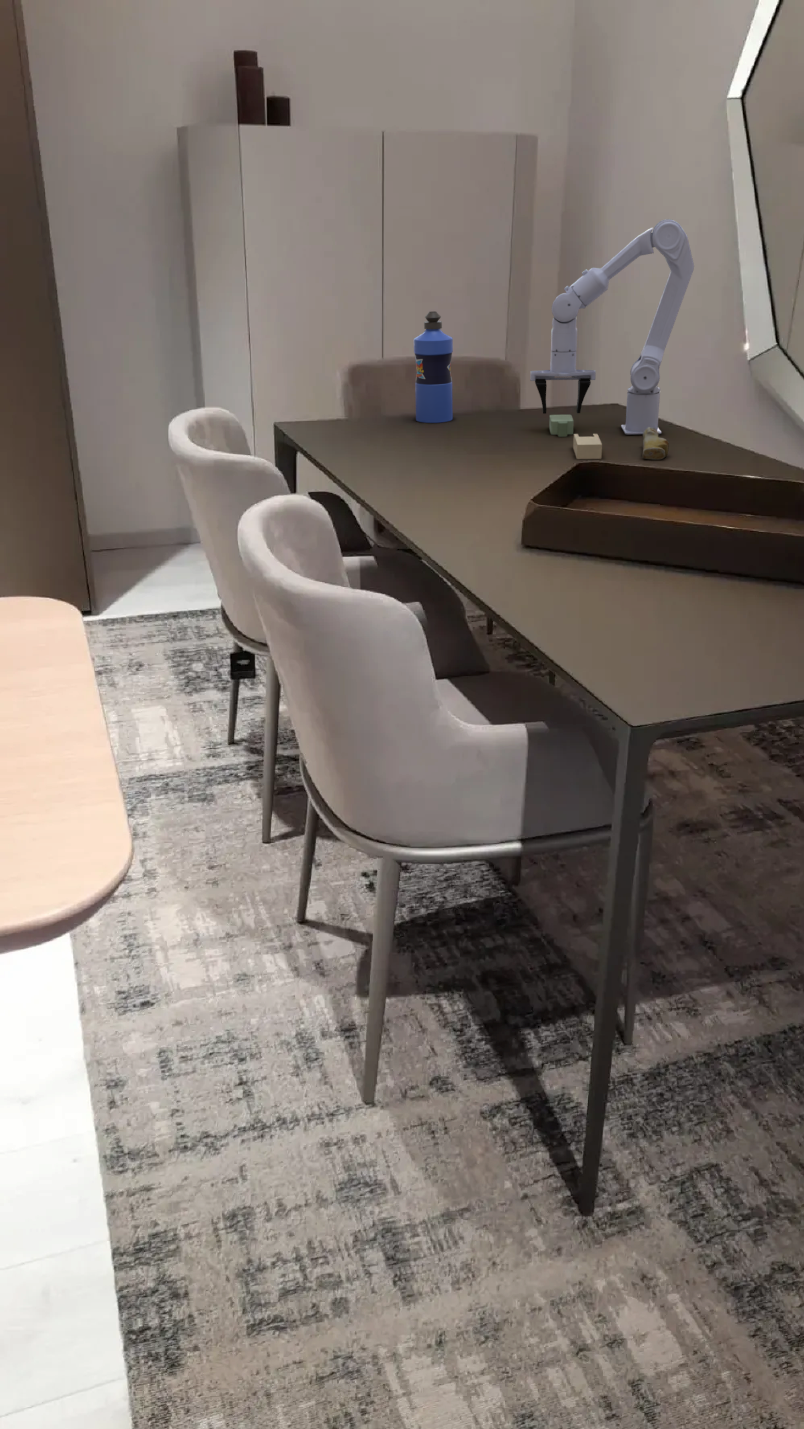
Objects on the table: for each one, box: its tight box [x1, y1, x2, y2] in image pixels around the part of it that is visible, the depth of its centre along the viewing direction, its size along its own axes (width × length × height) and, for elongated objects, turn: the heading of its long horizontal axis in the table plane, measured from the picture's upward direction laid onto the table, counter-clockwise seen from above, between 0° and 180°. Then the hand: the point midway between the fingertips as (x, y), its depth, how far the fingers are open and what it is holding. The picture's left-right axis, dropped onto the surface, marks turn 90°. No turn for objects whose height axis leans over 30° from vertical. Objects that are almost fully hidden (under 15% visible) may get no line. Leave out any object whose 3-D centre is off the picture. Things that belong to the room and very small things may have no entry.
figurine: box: [641, 427, 670, 461], centre depth 229 cm, size 5×5×15 cm
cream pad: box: [572, 433, 603, 460], centre depth 230 cm, size 11×5×3 cm, turn 176°
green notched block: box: [548, 414, 575, 438], centre depth 252 cm, size 10×5×3 cm, turn 176°
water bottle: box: [413, 310, 454, 424], centre depth 266 cm, size 9×9×25 cm
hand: (561, 412), depth 252 cm, fingers open, 7 cm apart
